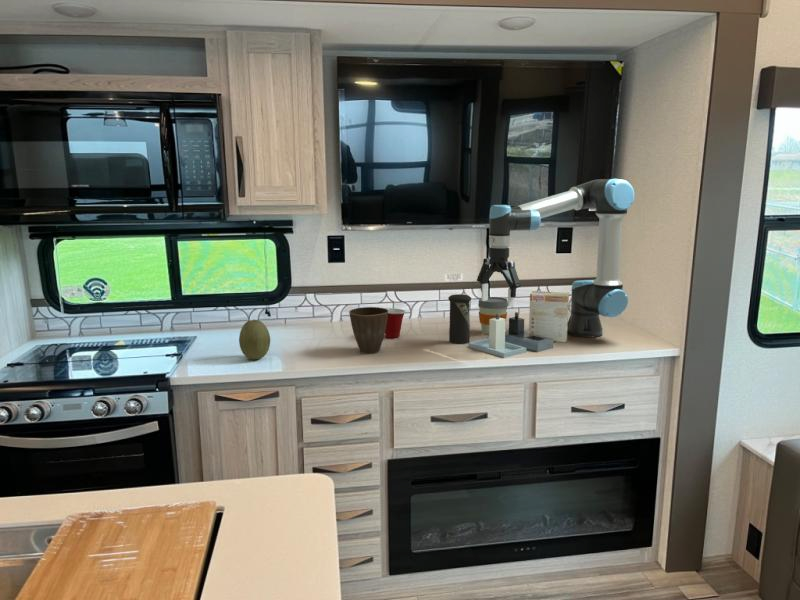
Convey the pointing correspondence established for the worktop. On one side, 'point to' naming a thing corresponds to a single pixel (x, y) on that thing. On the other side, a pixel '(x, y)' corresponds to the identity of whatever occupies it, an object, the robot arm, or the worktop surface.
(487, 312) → the reusable coffee cup
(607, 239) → the robot arm
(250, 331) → the fruit
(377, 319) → the plant pot
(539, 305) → the coffeecake box
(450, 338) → the container
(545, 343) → the grey socket base
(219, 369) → the worktop surface
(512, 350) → the tray
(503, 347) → the plug
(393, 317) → the plastic cup
